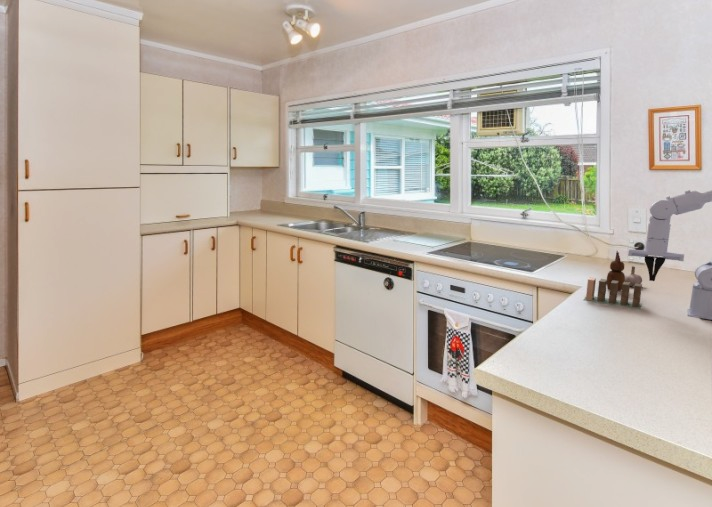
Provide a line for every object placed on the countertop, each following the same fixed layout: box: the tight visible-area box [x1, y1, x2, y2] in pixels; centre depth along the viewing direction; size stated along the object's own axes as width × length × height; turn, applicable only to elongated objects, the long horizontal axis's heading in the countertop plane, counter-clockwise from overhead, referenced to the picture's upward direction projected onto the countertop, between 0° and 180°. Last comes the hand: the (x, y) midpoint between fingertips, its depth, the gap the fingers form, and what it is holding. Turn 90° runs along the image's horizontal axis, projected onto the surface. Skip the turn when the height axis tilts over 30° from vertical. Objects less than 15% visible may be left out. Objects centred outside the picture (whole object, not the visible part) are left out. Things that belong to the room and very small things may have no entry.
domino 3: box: [620, 282, 631, 306], centre depth 144 cm, size 2×4×7 cm, turn 143°
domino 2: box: [608, 280, 619, 304], centre depth 146 cm, size 2×4×7 cm, turn 143°
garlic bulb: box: [624, 265, 643, 288], centre depth 170 cm, size 8×7×8 cm
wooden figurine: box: [606, 250, 626, 292], centre depth 162 cm, size 7×6×15 cm
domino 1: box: [596, 278, 607, 302], centre depth 148 cm, size 2×4×7 cm, turn 143°
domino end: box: [585, 277, 597, 300], centre depth 150 cm, size 2×4×7 cm, turn 143°
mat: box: [583, 295, 643, 310], centre depth 146 cm, size 17×8×1 cm, turn 53°
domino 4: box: [631, 283, 643, 307], centre depth 142 cm, size 2×4×7 cm, turn 143°
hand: (652, 280), depth 139 cm, fingers closed
